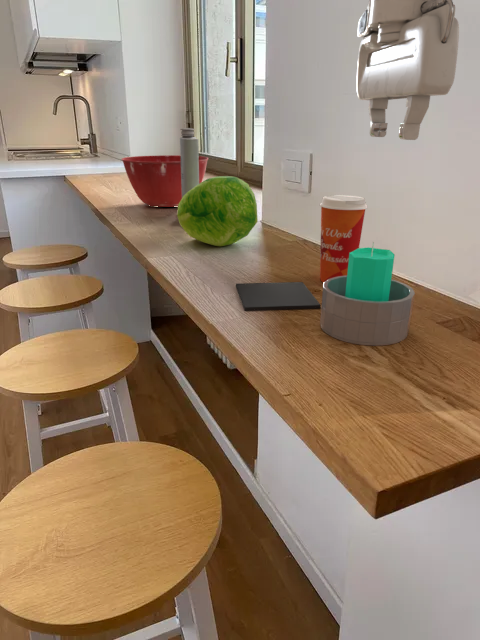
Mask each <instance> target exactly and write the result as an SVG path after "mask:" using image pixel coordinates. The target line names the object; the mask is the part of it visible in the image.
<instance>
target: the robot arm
mask: <svg viewBox="0 0 480 640" xmlns="http://www.w3.org/2000/svg"><path fill="white" fill-rule="evenodd" d="M455 16H456V5H455V3H454V2H453V0H368V4H367V6H366V8H365V10H364V12H363V13H362V15H361V16H360V18H359V19H358V23H357V32H356V35H357V37H358V38H362V39H361V41H360V43H359V47H358V53H357V54H358V55H357V69H356V93H357V98H358V100H360V101H368V114H369V115H368V116H369V121H370V125H369V136H370V137H372V138H385V137H386V135H387V130H388V122H386V110H388V105H389V101H392V100H403V99H406V101H405V108H407V109H406V112H405V115H404V119H403V122H401V123H400V124H399V131H398V138H399V139H400V140H405V141H415V140H417V139H418V138H419V135H420V128H421V124H422V123H423V120H424V118H425V116H426V115H427V112H428V110H429V107H430V102H431V97H437V96H438V97H439V96H446V95H448V94H449V92H450V91H451V88H452V87H453V84H454V81H455V76H456V69H457V61H458V53H459V52H458V51H459V41H460V40H459V39H460V23H459V21H458V18H457V17H455Z"/></svg>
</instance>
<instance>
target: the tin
mask: <svg viewBox="0 0 480 640" xmlns="http://www.w3.org/2000/svg"><path fill="white" fill-rule="evenodd" d="M346 282H347V275H344V276H337V277H333V278H330V279H328V280H326V281H325V282H324V283H323V284H322V295H321V296H322V297H321V308H320V320H319V325H320V328H321V330H322V332H324V333H325V334H327V335H328V336H330V337H331V338H334V339H337V340H339V341H342V342H345V343H349V344H354V345H360V346H371V347H372V346H373V347H374V346H375V347H376V346H377V347H379V346H388V345H394V344H397V343H400V342H402V341H404V340H405V339H406V338H407V337H408V335H409V332H410V326H411V321H412V313H413V308H414V301H415V295H416V292H415V289H414V288H412V287H411V286H410V285H408V284H406V283H405V282H402V281H399V280H397V279H392V278H391V285H390V293H389V300H388V301H378V302H377V301H364V300H358V299H352V298H348V297H345V292H346Z"/></svg>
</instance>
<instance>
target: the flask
mask: <svg viewBox="0 0 480 640" xmlns="http://www.w3.org/2000/svg"><path fill="white" fill-rule="evenodd" d="M179 131H180V137H179V147H180V149H179V152H180V154H179V155H181V189H182V198H183V196H184V195H185V194H186V193H187V192H188V191H190V190H191V189H192V188H194V187H195V186H197V185H198V184H199V156H200V155H199V154H200V153H199V152H200V151H199V147H200V146H199V138H197V137H196V136H195V128H192V127H183V128H180V129H179Z"/></svg>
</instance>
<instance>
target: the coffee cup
mask: <svg viewBox="0 0 480 640" xmlns="http://www.w3.org/2000/svg"><path fill="white" fill-rule="evenodd" d="M319 207H320V208H321V209H320V248H319V249H320V252H319V253H320V254H319V255H320V256H319V267H320V268H319V279H320V282H322V283H323V284H324V282H325V281H326V280H328V279H330V278H333V277H337V276H344V275H347V272H348V262H349V253H350V252H352V251H354V250H356V249H358V248H360V245H361V238H362V232H363V226H364V220H365V213H366V210H368V205H367V201H366V199H365V197H362V196H359V195H348V194H331V195H325V196H323V197H322V199H321V202H320V203H319Z"/></svg>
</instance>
